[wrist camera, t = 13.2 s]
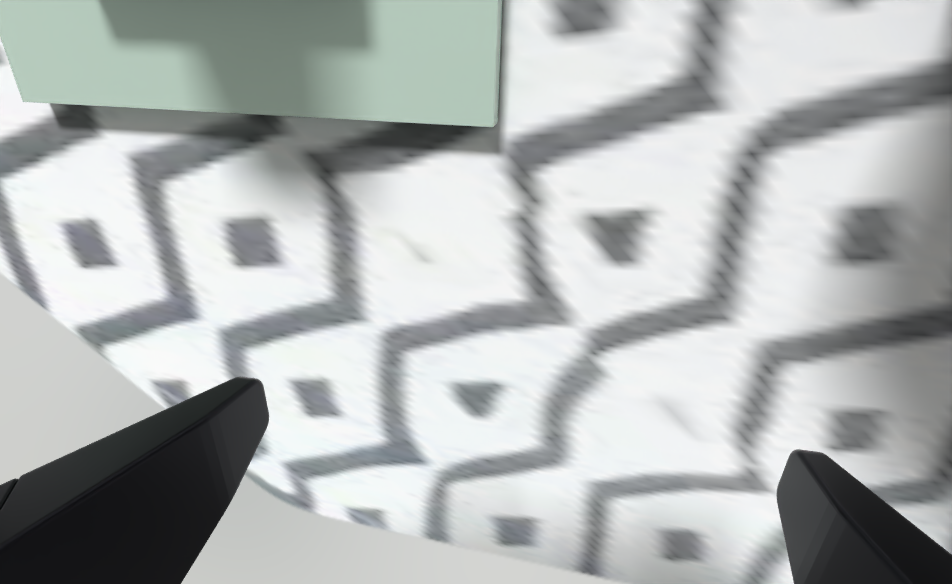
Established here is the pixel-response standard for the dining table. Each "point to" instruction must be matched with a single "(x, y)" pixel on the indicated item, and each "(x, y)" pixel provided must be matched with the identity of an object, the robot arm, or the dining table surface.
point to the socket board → (263, 56)
